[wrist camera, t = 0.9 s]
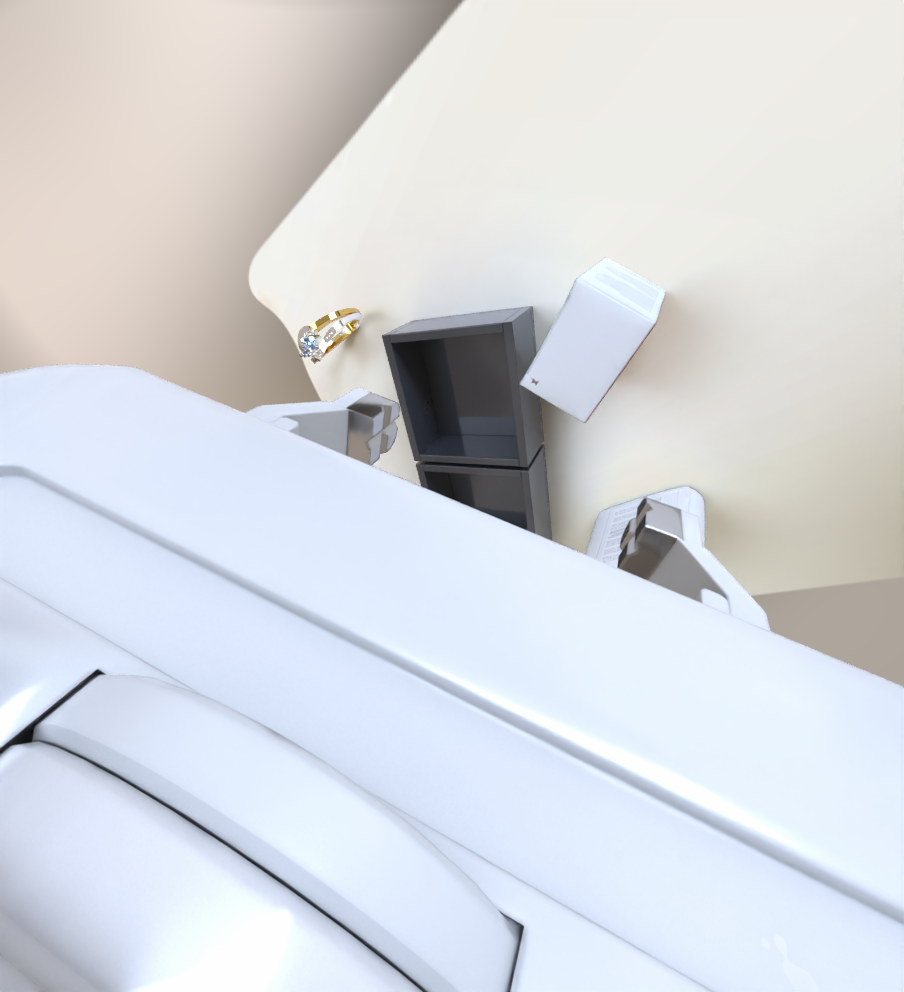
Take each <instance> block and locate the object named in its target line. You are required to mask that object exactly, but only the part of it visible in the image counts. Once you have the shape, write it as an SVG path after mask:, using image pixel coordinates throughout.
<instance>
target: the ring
mask: <svg viewBox="0 0 904 992" xmlns="http://www.w3.org/2000/svg"><path fill="white" fill-rule="evenodd" d="M340 318H343V319H341V320H340V321H338V322H337V323H336V324H334V325H333V326H332V327H331V328H330V329H329V331H328V332H327V333H326V335H325V337H324V338H323V340H322V343H321V345H320V346H319V339H320V338H321V336H320V335H318V332H319V331H320V330H321V329H323V328H324V327H325V326H326V325H328V324H330V323H331V322H333V321H335V320H338V319H340ZM363 320H364V318H363V316H362V314H361V313H360V311H359V310H358V309H356V308H347V309H342V310H339V311H336V312H333V313H331V314H328V315H326V316H324V317H323V318H321V319H319V320H318V321H316V322H315V323H313V324H312V325H310V326H304V327H303V328H301V330H300V331H299V334H298V345H299V348H300V350H301V351H302V353H301V354H300V357H303V356H304V357H307V356H308V357H310V356H312V359H311V360H312V362H313V363H314V364H315V363H316V362H318V361H320V360H321V359H322V358H323V357H324V356H325V355H326V354H328V353H329V352H330V351H331V350H333V349H334V348H335V347H336V346H338V345H339V344H340V343H341V342H342V341H344V340H345V339H346V338H347V337H348V336H349V335H351V334H352V333H353V332H355V331H356V330H357V329H358V328H359V326H360V325H361V324H362V322H363ZM349 322H350V323H349ZM347 323H348V324H347ZM346 324H347V325H346ZM344 325H346V328H345V329H343V330H342V331H341V332H340V333H339V334H338V335H336V336H335V337H334V338H332V337H333V335H334V334H335V333H336V332H337V331H338V330H339V329H340V328H341V327H343V326H344ZM308 333H312V334H313V335H309V336H308V337H307V335H308ZM331 338H332V339H331Z"/></svg>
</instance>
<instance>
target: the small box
mask: <svg viewBox="0 0 904 992" xmlns="http://www.w3.org/2000/svg"><path fill="white" fill-rule="evenodd" d="M665 294H666V291H665V290H663V289H662V288H660V287H658V286H657V285H655V284H653V283H651V282H650V281H648V280H646V279H644V278H643V277H641V276H639V275H637V274H635V273H634V272H632V271H630V270H628V269H626V268H625V267H623V266H621V265H619V264H617V263H615V262H614V261H612V260H610V259H608V258H604V259H603V260H601V261H600V262H599V263H597V264H596V265H594V266H593V267H592V268H590V269H589V270H588V271H586V272H585V273H583V274H582V275H581V276H579V277H578V278H577V279H576V280H575V282H574V284H573V286H572V288H571V290H570V293H569V295H568V297H567V299H566V301H565V303H564V304H563V306H562V308H561V310H560V312H559V314H558V316H557V318H556V320H555V321H554V323H553V325H552V327H551V329H550V331H549V333H548V335H547V336H546V338H545V340H544V342H543V344H542V346H541V347H540V349H539V351H538V353H537V355H536V357H535V358H534V360H533V362H532V364H531V365H530V367H529V369H528V371H527V372H526V374H525V376H524V377H523V379H522V380H521V382H520V385H522V386H523V387H525V388H527V389H528V390H530V391H532V392H533V393H535V394H537V395H538V396H540V397H541V398H543V399H545V400H546V401H548V402H550V403H551V404H553V405H555V406H557V407H558V408H560V409H561V410H563V411H565V412H566V413H568V414H570V415H571V416H573V417H575V418H577V419H578V420H580V421H582V422H583V423H586V422H587V420H588V419H589V417H590V416H591V415H592V413H593V412H594V410H595V409H596V408H597V406H598V405H599V403H600V402H601V401H602V399H603V398H604V396H605V395H606V394H607V392H608V391H609V389H610V388H611V387H612V385H613V384H614V382H615V381H616V380H617V378H618V377H619V375H620V374H621V373H622V371H623V370H624V369H625V367H626V366H627V364H628V363H629V361H630V360H631V358H632V357H633V356H634V354H635V353H636V351H637V350H638V349H639V347H640V346H641V344H642V343H643V341H644V340H645V339H646V337H647V336H648V334H649V333H650V332H651V330H652V329H653V327H654V326H655V324H656V322H657V319H658V315H659V312H660V309H661V306H662V303H663V300H664V296H665Z"/></svg>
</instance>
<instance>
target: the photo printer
mask: <svg viewBox="0 0 904 992" xmlns="http://www.w3.org/2000/svg"><path fill="white" fill-rule="evenodd" d="M646 497H647V498H650V499H653V500H656V501H659V502H661V503H664V504H667V505H670V506H673V507H676V508H678V509H681V510H683V511H686V512H689V513H692V514H695V515H697V516H698V517H699V522H700V529H701V536H702V543H703V548H704V549H705V515H704V511H705V503H704V500H703V498H702V496H701V495H700V494H699V493H698V492H697V491H695V490H693V489H690V488H689V487H679V488H674V489H670V490H667V491H663V492H659V493H656V494H653V495H649V496H646ZM643 499H644V497H643V498H639V499H636V500H633V501H630V502H626V503H623V504H620V505H617V506H614V507H611V508H609V509H606V510H604V511H602V512H601V513H599V515H598V517H597V519H596V522H595V526H594V529H593V532H592V535H591V538H590V541H589V544H588V547H587V550H586V553H585V555H587V556H590V557H592V558H595V559H597V560H599V561H602V562H604V563H607V564H609V565H611V566H614V567H616V568H617V566H618V557H619V555H620V553H621V552H622V550H621V549H620V542H621V538H622V535H623V533H624V530H625V528H626V526H627V524H628V523H629V521H630V519H632V518H635V517H636V515H637V507H638V506H639V504H640V503H641V501H642V500H643Z"/></svg>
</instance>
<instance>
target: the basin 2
mask: <svg viewBox="0 0 904 992" xmlns="http://www.w3.org/2000/svg"><path fill="white" fill-rule="evenodd" d="M416 467H417V471H418V475H419V479H420V483H421V486H422V487H424V488H426V489H428V490H431V491H433V492H436V493H438V494H440V495H443V496H445V497H448V498H450V499H452V500H455V501H457V502H460V503H462V504H465V505H467V506H469V507H472V508H474V509H477V510H479V511H481V512H484V513H486V514H489V515H491V516H493V517H496V518H498V519H501V520H503V521H505V522H508V523H510V524H513V525H515V526H517V527H520V528H522V529H525V530H527V531H529V532H532V533H534V534H537V535H539V536H542V537H544V538H546V539H549V540H551V541H552V531H551V519H550V507H549V495H548V484H547V472H546V460H545V448H544V445H541V446H540V448H539V450H538V451H537V453H536V455H535V456H534V458H533V459H532V461H531V463H530V464H529V466H528V467H520V466H519V467H518V466H500V465H482V464H464V463H445V462H427V461H419V462H418V463H417V464H416Z"/></svg>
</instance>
